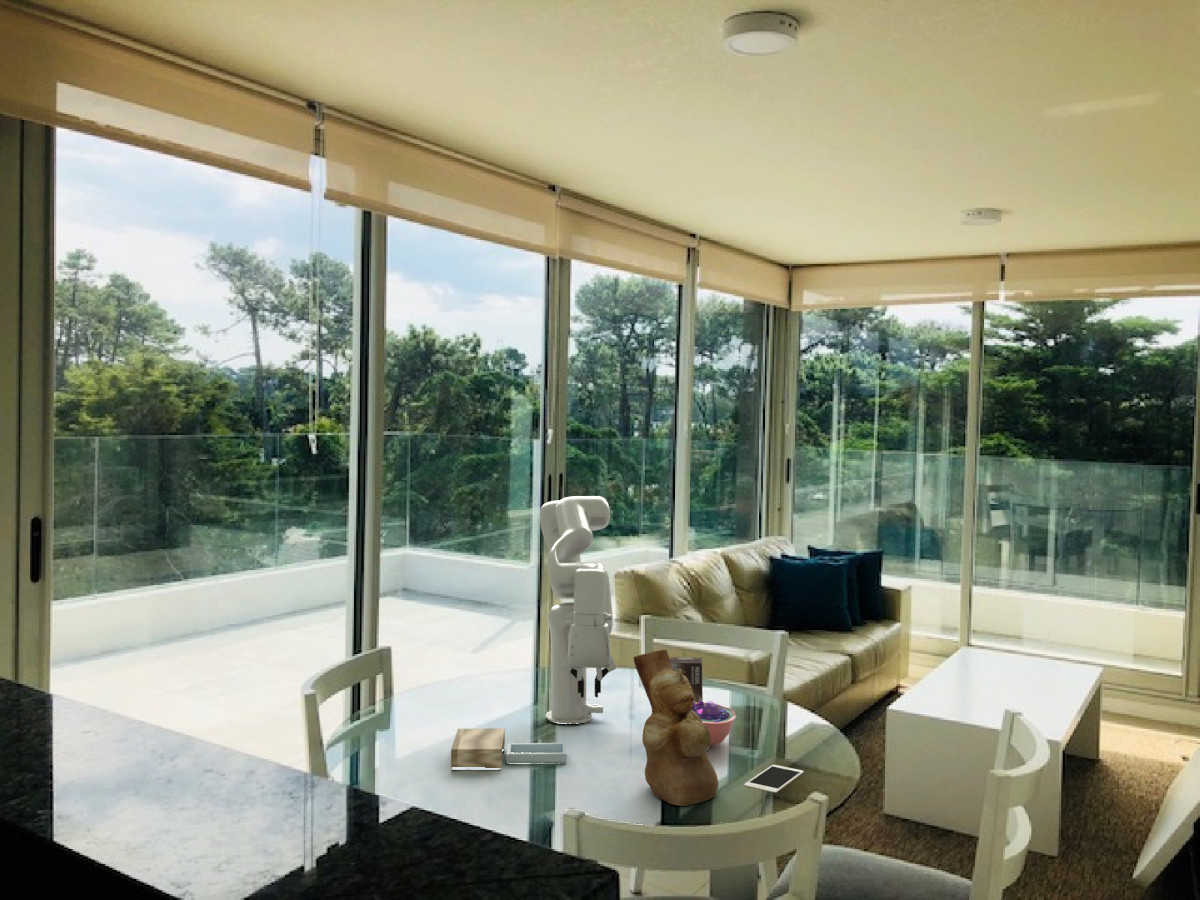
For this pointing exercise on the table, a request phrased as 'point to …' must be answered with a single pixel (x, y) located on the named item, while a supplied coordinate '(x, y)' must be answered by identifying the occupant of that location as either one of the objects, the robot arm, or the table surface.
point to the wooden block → (478, 748)
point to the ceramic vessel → (674, 735)
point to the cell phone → (773, 778)
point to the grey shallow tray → (551, 755)
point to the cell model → (715, 720)
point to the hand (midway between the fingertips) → (589, 695)
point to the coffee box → (690, 673)
